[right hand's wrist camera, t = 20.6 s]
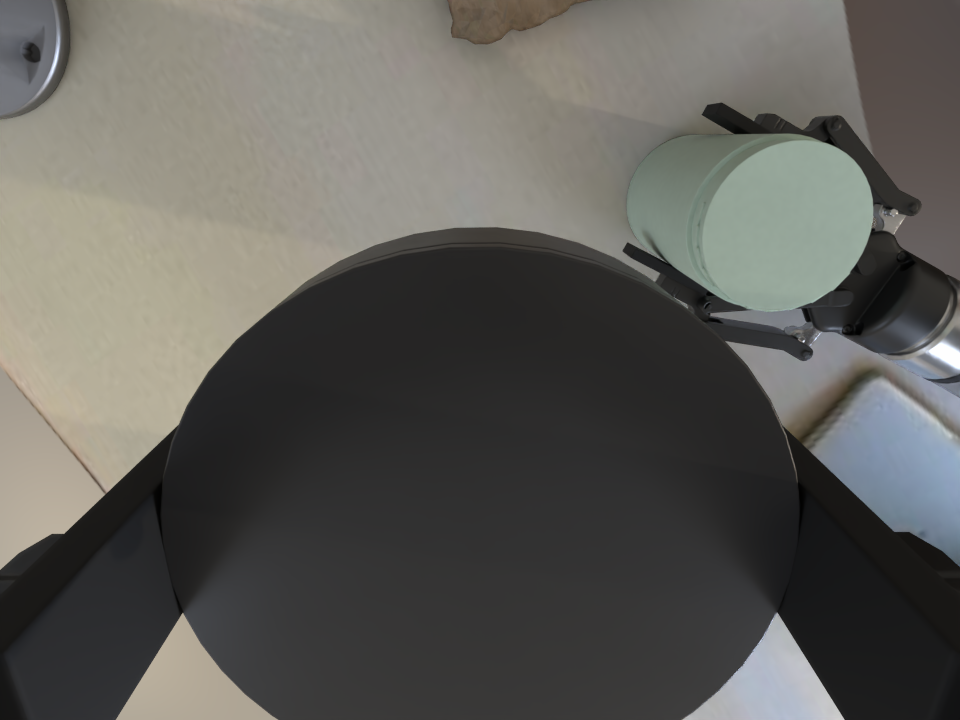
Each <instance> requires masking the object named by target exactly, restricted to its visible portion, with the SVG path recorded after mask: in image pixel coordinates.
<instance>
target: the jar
mask: <svg viewBox="0 0 960 720" xmlns="http://www.w3.org/2000/svg"><path fill="white" fill-rule="evenodd" d="M626 207H627V216H628V221H629V224H630V227H631V229H632V231H633V233H634V235H635V237H636V238H637V239H638V241H639V242H640V243H641V244H642V245H643V246H644V247H645V248H646V249H648V250H649V251H650V252H652V253H653V254H655V255H656V256H658V257H659V258H661V259H662V260H664V261H665V262H667V263H668V264H670V265H671V266H673V267H674V268H676V269H677V270H679V271H680V272H682V273H683V274H685V275H686V276H688V277H689V278H691V279H692V280H694V281H695V282H697V283H698V284H700V285H701V286H703V287H704V288H706V289H707V290H709V291H710V292H712V293H713V294H715V295H716V296H718V297H720V298H722V299H723V300H725V301H728V302H730V303H733V304H736V305H740V306H742V307H745V308H746V309H752V310H759V311H766V312H774V311H783V310H792V309H795V308H798V307H800V306H803V305H806V304H809V303H813V302H815V301H816V300H818V299H819V298H821V297H822V296H824V295H825V294H827V293H828V292H830V291H833V290H834V289H835V288H836V287H837V286H838V285H839V284H840V283H841V282H842V281H843V280H844V279H845V278H846V277H847V276H848V275H849V274H850V271H851V270H852V268H853V267H854V266H855V264H856V263H857V261H858V260H859V258H860V256H861V255H862V253H863V251H864V248H865V246H866V244H867V241H868V238H869V235H870V232H871V227H872V221H873V199H872V194H871V189H870V186H869V184H868V181H867V178H866V176H865V175H864V173H863V171H862V170H861V168H860V167H859V166H858V164H857V163H856V162H855V161H854V160H853V159H852V158H851V157H850V156H849V155H848V154H846V153H845V152H843V151H842V150H840V149H839V148H837V147H835V146H832V145H830V144H827V143H824V142H821V141H819V140H816V139H814V138H812V137H808V136H804V135H799V134H722V135H687V136H681V137H678V138H675V139H672V140H669V141H667V142H665V143H663V144H662V145H660V146H659V147H657V148H656V149H654V150H653V151H652V152H651V153H650V154H649V155H648V156H647V157H646V158H645V159H644V160H643V161H642V163H641V164H640V165H639V167H638V168H637V170H636V172H635V173H634V175H633V178H632V180H631V182H630V186H629V189H628V194H627V205H626Z"/></svg>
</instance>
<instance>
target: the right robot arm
mask: <svg viewBox="0 0 960 720" xmlns="http://www.w3.org/2000/svg"><path fill="white" fill-rule="evenodd" d="M69 48H70V26H69V18H68V12H67V8H66V4H65V0H0V119H7V118H13V117H16V116H20V115H23V114H25V113H27V112H30V111H31V110H33V109H35V108H37V107H38V106H39V105H41V104H42V103H43V102H44V101H45V100H46V99H47V98H48V97H49V96H50V95H51V94H52V93H53V91H54V90H55V89H56V87H57V86H58V84H59V82H60V80H61V78H62V76H63V74H64V71H65V68H66V65H67V61H68V56H69ZM177 428H178V426H177V427H176V428H175V429H174V430H173V431H172V432H171V433H170V434H169V435H167V436H166V437H165V438H164V439H163V440H162V441H161V442H160V443H159V444H158V445H157V446H156V447H155V448H154V449H153V450H152V451H151V452H150V453H149V454H148V455H146V456H145V457H144V458H143V459H142V460H141V461H140V462H139V463H138V464H137V465H136V466H135V467H134V468H133V469H132V470H131V471H130V472H129V473H128V474H127V475H125V476H124V477H123V478H122V479H121V480H120V481H119V482H118V483H117V484H116V485H115V486H114V487H113V488H112V489H111V490H110V491H109V492H108V493H107V494H106V495H105V496H103V497H102V498H101V499H100V500H99V501H98V502H97V503H96V504H95V505H94V506H93V507H92V508H91V509H90V510H89V511H88V512H87V513H86V514H85V515H84V516H82V518H80V519H79V520H78V521H77V522H76V523H75V524H74V525H73V526H72V527H71V528H70V529H69V530H68V531H67V532H66V533H65V534H51V535H49V536H48V537H46V538H44V539H43V540H41V541H39V542H37V543H36V544H34V545H32V546H30V547H29V548H27V549H25V550H24V551H22V552H20V553H19V554H18V555H16V556H15V557H14V558H13V559H12V560H11V561H10V562H9V563H8V564H6V565H5V566H4V567H3V568H2V569H1V570H0V720H116V718H117V717H118V715H119V714H120V712H121V710H122V709H123V707H124V705H125V704H126V702H127V701H128V699H129V698H130V696H131V694H132V693H133V691H134V689H135V688H136V686H137V685H138V683H139V682H140V680H141V678H142V677H143V675H144V674H145V672H146V670H147V669H148V667H149V665H150V664H151V662H152V661H153V659H154V658H155V656H156V654H157V653H158V651H159V650H160V648H161V646H162V645H163V643H164V642H165V640H166V638H167V637H168V635H169V634H170V632H171V630H172V629H173V627H174V626H175V624H176V622H177V621H178V619H179V618H180V616H181V614H182V613H183V611H182V608H181V606H180V604H179V601H178V599H177V596H176V594H175V591H174V589H173V586H172V583H171V579H170V574H169V570H168V566H167V561H166V557H165V552H164V548H163V543H162V532H161V520H160V508H161V495H162V483H163V475H164V471H165V467H166V463H167V459H168V455H169V451H170V446H171V442H172V440H173V437H174V435H175V433H176V430H177ZM783 428H784V430H785V433H786V435H787V439H788V442H789V446H790V449H791V453H792V457H793V460H794V464H795V467H796V472H797V481H798V490H799V499H800V524H799V540H798V545H797V550H796V554H795V559H794V563H793V568H792V572H791V577H790V580H789V584H788V587H787V589H786V592H785V595H784V597H783V600H782V603H781V605H780V608H779V610H778V614H779V615H780V617H781V619H782V620H783V622H784V623H785V625H786V627H787V628H788V630H789V631H790V633H791V635H792V636H793V638H794V639H795V641H796V643H797V644H798V646H799V647H800V649H801V651H802V652H803V654H804V655H805V657H806V659H807V660H808V662H809V663H810V665H811V667H812V668H813V670H814V671H815V673H816V675H817V676H818V678H819V679H820V681H821V683H822V684H823V686H824V687H825V689H826V691H827V692H828V694H829V695H830V697H831V699H832V700H833V702H834V703H835V705H836V707H837V708H838V710H839V711H840V713H841V715H842V716H843V718H844V719H845V720H960V567H959V566H958V565H957V564H956V563H955V562H954V561H953V560H951V559H950V558H949V557H948V556H947V555H946V554H945V553H944V552H942V551H941V550H939V549H937V548H936V547H934V546H932V545H931V544H929V543H927V542H925V541H924V540H922V539H920V538H918V537H917V536H915V535H913V534H911V533H910V532H894V531H893V530H892V529H891V528H889V527H888V526H887V525H886V524H885V523H884V522H883V521H882V520H881V519H880V518H879V517H878V516H877V515H876V514H875V513H874V512H873V511H872V510H871V509H870V508H868V507H867V506H866V505H865V504H864V503H863V502H862V501H861V500H860V499H859V498H858V497H857V496H856V495H855V494H854V493H853V492H852V491H851V490H850V489H849V488H848V487H846V486H845V485H844V484H843V483H842V482H841V481H840V480H839V479H838V478H837V477H836V476H835V475H834V474H833V473H832V472H831V471H830V470H829V469H828V468H827V467H825V466H824V465H823V464H822V463H821V462H820V461H819V460H818V459H817V458H816V457H815V456H814V455H813V454H812V453H811V452H810V451H809V450H808V449H807V448H806V447H804V446H803V445H802V444H801V443H800V442H799V441H798V440H797V439H796V438H795V437H794V436H793V435H792V434H791V433H790V432H789V431H788V430H787V429H786V428H785V427H783Z"/></svg>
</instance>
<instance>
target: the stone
mask: <svg viewBox="0 0 960 720" xmlns="http://www.w3.org/2000/svg"><path fill="white" fill-rule="evenodd" d="M447 1H448V3H449V8H450V12H451V15H452V19H453V24H452V27H451V34H452V37H454V38H461V39H467V40H468V41H470V42H472V43H474V44H490V43H493V42H495V41H497V40H500V39H502V37H503V36H504V35H505V34H506V33H507V32H508V31H510V30H511V29H514V30H518V31H522V30H526V29H529V28H533V27H535V26H538V25H541V24H542V23H544V22H545V21H547V20H548V19H550V18H553V17H555V16H558V15H560V14H562V13H564V12H565V11H567V10H568V9H569V7H570V6H572V5H574V4H576V3H581V2H585V1H590V0H447Z"/></svg>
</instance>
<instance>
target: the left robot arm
mask: <svg viewBox="0 0 960 720" xmlns="http://www.w3.org/2000/svg"><path fill="white" fill-rule="evenodd" d="M702 115H703V116H704V117H706V118H708V119H710V120H711V121H713V122H715V123H716V124H718V125H720V126H722V127H723V128H725V129H727V130H729V131H730V132H732V133H734V134H799V135H804V136H808V137H812V138H814V139H816V140H819V141H821V142H824V143H827V144H830V145H832V146H835V147H837V148H839V149H840V150H842V151H843V152H845V153H846V154H848V155H849V156H850V157H851V158H852V159H853V160H854V161H855V162H856V163H857V164H858V166H859V167H860V168H861V170H862V171H863V173H864V175H865V176H866V178H867V181H868V184H869V186H870V189H871V194H872V199H873V216H874V217H875V218H876V220H877V225H876V227H875V228H872V229H871V232H870V235H869V238H868V241H867V244H866V246H865V248H864V251H863V253H862V255H861V256H860V258H859V260H858V261H857V263H856V264H855V266H854V267H853V268H852V270H851V271H850V274H849V275H848V276H847V277H846V278H845V279H844V280H843V281H842V282H841V283H840V284H839V285H838V286H837V287H836V288H835V289H834V290H833V291H830V292H828V293H827V294H825V295H824V296H822V297H821V298H819V299H818V300H816V301H815V302H813V303H809V304H806V305H803V306H800V307H798V308H796V309H799V308H801V309H802V312H803V315H804V318H805V320H806V322H807V323H806V324H805V325H803V326H801V327H797V326H789V327H786V328H784V331H783V330H781V329H779V328H776V327H772V326H768V325H761V324H755V323H749V322H743V321H737V320H730V319H724V318H718V317H712V316H710V313H718V312H731V311H745V310H752V309H746V308H745V307H742V306H740V305H736V304H733V303H730V302H728V301H725V300H723V299H722V298H720V297H718V296H716V295H715V294H713V293H712V292H710V291H709V290H707V289H706V288H704V287H703V286H701V285H700V284H698V283H697V282H695V281H694V280H692V279H691V278H689V277H688V276H686V275H685V274H683V273H682V272H680V271H679V270H677V269H676V268H674V267H673V266H671V265H670V264H668V263H666V262H664V261H662V260H660V259H658V258H656V257H654V256H653V255H651V254H649V253H647V252H645V251H643V250H641V249H639V248H637V247H635V246H633V245H632V244H630V243H628V242H627V244H626V246H625V248H624V249H623V252H624V253H626V254H627V255H628V256H629V257H631V258H632V259H634V260H636V261H638V262H640V263H642V264H644V265H646V266H648V267H650V268H652V269H654V270H656V271H657V272H659V273H661V274H660V275H659V277H658V279H657V280H656V282H655V283H656V284H657V285H658V286H660V287H661V288H662V289H663V290H665V291H666V292H667V293H669V294H670V295H671V296H673V297H675V298H677V299H679V300H681V301H683V302H684V303H686V304H688V310H689V311H691V312H692V313H693V314H694V315H696V316H697V317H698V318H699V319H700V320H702V321H703V322H704V323H705V324H706V325H708V326H709V327H710V328H711V329H713V330H714V331H715V332H716V333H717V334H719V336H720V337H721V338H722V339H723V340H724V341H729V342H735V343H741V344H747V345H754V346H760V347H766V348H773V349H779V350H784V351H786V352H787V353H789V354H791V355H792V356H794V357H796V358H798V359H799V360H802V361H806V360H809V359H810V358H811V357H812V355H813V350H812V349H811V348H810V346H811V345H812V344H813V342H814V341H815V340H816V339H817V337H818V336H819V335H820V334H821V332H836V333H838V334H840V335H842V336H844V337H846V338H848V339H850V340H852V341H853V342H855V343H857V344H859V345H861V346H863V347H865V348H867V349H869V350H870V351H873V352H875V353H878V354H879V355H881V356H883V357H884V358H886V359H888V360H890V361H892V362H893V363H895V364H897V365H899V366H901V367H903V368H905V369H906V370H908V371H910V372H912V373H914V374H916V375H918V376H920V377H923V378H925V379H927V380H929V381H932V382H933V383H935V384H937V385H939V386H940V387H942V388H944V389H946V390H947V391H949V392H951V393H952V394H954V395H956V396H958V397H959V398H960V281H959V280H957V279H955V278H953V277H951V276H949V275H946V274H945V273H944V272H942V271H941V270H939V269H938V268H936V267H934V266H932V265H931V264H929V263H927V262H925V261H923V260H922V259H920V258H918V257H916V256H915V255H913V254H911V253H909V252H908V251H906V250H904V249H903V248H901V247H900V246H899V244H898V243H897V240H896V238H895V236H894V233H895V232H896V230H897V229H898V227H899V226H900V224H901V223H902V221H903V220H904V218H905V217H906V216H907V215H908V216H914V215H916V214H917V213H918V212H919V211H920V209H921V202H920V201H919V200H918V199H916V198H914V197H912V196H910V195H908V194H906V193H904V192H902V191H900V190H899V189H898V188H897V187H896V185H895V184H894V183H893V181H892V180H891V179H890V178H889V176H888V175H887V174H886V172H885V171H884V170H883V169H882V167H881V166H880V165H879V163H878V162H877V161H876V159H875V158H874V157H873V156H872V154H871V153H870V152H869V150H868V149H867V148H866V147H865V145H864V144H863V143H862V141H861V140H860V139H859V138H858V136H857V135H856V134H855V132H854V131H853V130H852V129H851V127H850V126H849V125H848V123H847V122H846V121H845V119H844V118H843V117H841V116H838V115H836V116H820V117H815V118H814V119H812V121H811V122H810V124H809V126H808V127H806V128H805V129H804V130H801V129H799V128H797V127H796V126H794V125H792V124H791V123H789V122H787V121H786V120H784V119H782V118H781V117H779V116H777V115H775V114H768V113H767V114H758V115H757V117H756V119H755V120H754V121H752V120H751V119H749V118H747V117H746V116H744V115H742V114H740V113H739V112H737V111H735V110H734V109H732V108H730V107H728V106H727V105H725V104H723V103H716V104H709V105H707V106H706V108H705V110H704V112H703V113H702Z"/></svg>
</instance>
